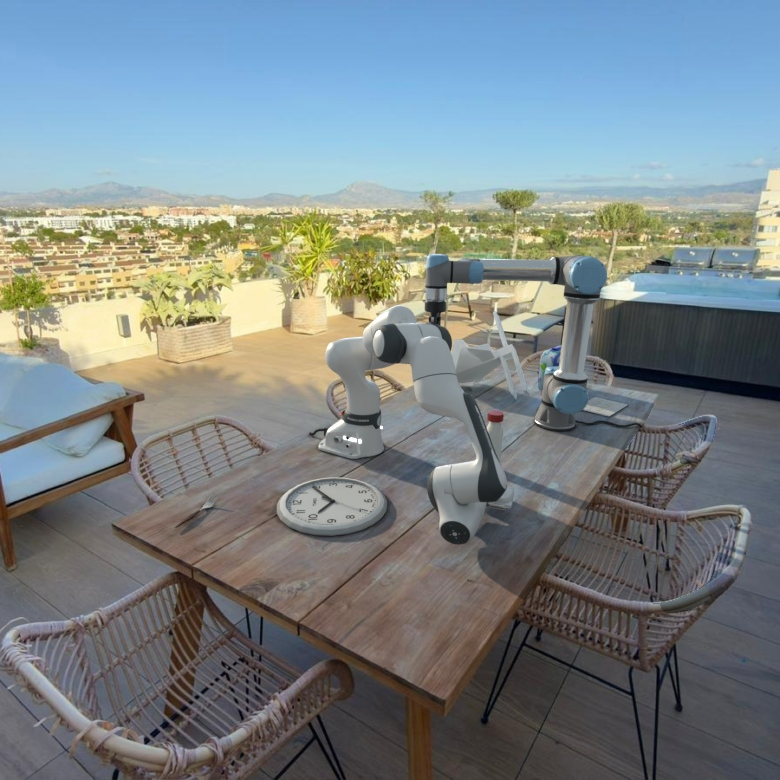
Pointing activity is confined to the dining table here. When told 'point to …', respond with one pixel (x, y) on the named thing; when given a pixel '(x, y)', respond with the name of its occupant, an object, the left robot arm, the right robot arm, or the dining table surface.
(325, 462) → the dining table surface
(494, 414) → the cap
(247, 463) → the dining table surface
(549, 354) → the lunch box
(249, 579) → the dining table surface
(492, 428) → the bottle
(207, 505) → the fork
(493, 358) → the white plastic object
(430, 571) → the dining table surface
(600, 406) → the invitation card
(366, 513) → the wall clock
